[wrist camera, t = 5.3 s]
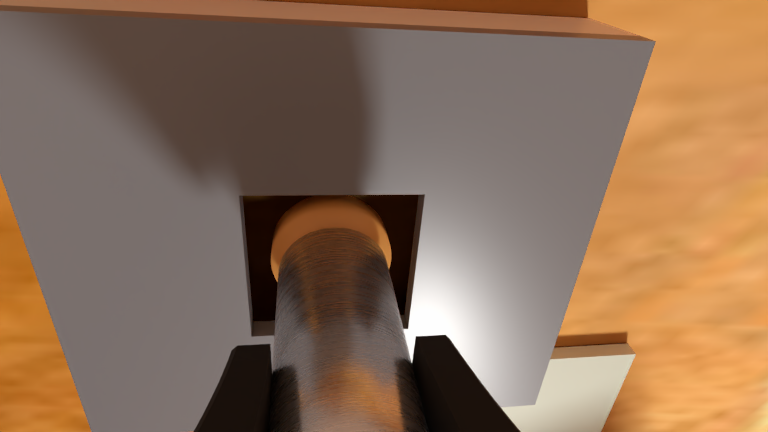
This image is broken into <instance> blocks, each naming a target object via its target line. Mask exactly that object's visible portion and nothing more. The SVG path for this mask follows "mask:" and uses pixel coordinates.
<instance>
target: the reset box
mask: <svg viewBox="0 0 768 432" xmlns="http://www.w3.org/2000/svg"><path fill="white" fill-rule="evenodd" d="M655 42H656V41H653V40H650V39H647V38H644V37H641V36H639V35H636V34H633V33H630V32H627V31H624V30H621V29H618V28H616V27H613V26H610V25H607V24H604V23H601V22H598V21H595V20H593V19H590V18H576V17H557V16H539V15H520V14H502V13H483V12H464V11H446V10H427V9H408V8H390V7H371V6H352V5H334V4H315V3H296V2H278V1H259V0H0V174H1V177H2V180H3V183H4V186H5V188H6V191H7V194H8V197H9V200H10V203H11V205H12V208H13V211H14V214H15V217H16V219H17V222H18V225H19V228H20V231H21V234H22V236H23V239H24V242H25V245H26V248H27V251H28V253H29V256H30V259H31V262H32V265H33V267H34V270H35V273H36V276H37V279H38V282H39V284H40V287H41V290H42V293H43V296H44V298H45V301H46V304H47V307H48V310H49V313H50V315H51V318H52V321H53V324H54V327H55V330H56V332H57V335H58V338H59V341H60V344H61V346H62V349H63V352H64V355H65V358H66V361H67V363H68V366H69V369H70V372H71V375H72V378H73V380H74V383H75V386H76V389H77V392H78V394H79V397H80V400H81V403H82V406H83V409H84V411H85V414H86V417H87V420H88V423H89V425H90V428H91V431H92V432H189V431H194V430H195V428H196V426H197V424H198V423H199V421H200V419H201V417H202V415H203V413H204V411H205V409H206V407H207V405H208V403H209V401H210V399H211V397H212V395H213V393H214V391H215V389H216V387H217V385H218V383H219V380H220V378H221V376H222V374H223V371H224V369H225V366H226V364H227V361H228V359H229V356H230V353H231V350H233V349H234V348H235V347H236V346H237V345H257V344H270V346H271V362H272V363H273V347H274V332H275V321H255V322H253V313H252V302H251V290H250V278H249V266H248V254H247V242H246V231H245V219H244V207H243V196H264V195H419V196H418V204H417V213H416V221H415V230H414V238H413V247H412V255H411V264H410V272H409V280H408V289H407V297H406V306H405V314H404V315H400V317H401V321H402V325H403V329H404V334H405V338H406V342H407V346H408V350H409V354H410V358H411V362H412V360H413V353H414V345H415V338H416V336H432V335H446V336H447V337H448V338H449V339H450V340H451V341H452V343H453V344H454V346H455V347H456V348H457V350H458V351H459V353H460V354H461V355H462V357H463V358H464V360H465V361H466V362H467V364H468V365H469V367H470V368H471V369H472V371H473V372H474V373H475V375H476V376H477V377H478V379H479V380H480V381H481V383H482V384H483V385H484V387H485V388H486V389H487V391H488V392H489V393H490V394H491V396H492V397H493V398H494V400H495V401H496V402H497V403H498V405H499V406H500V407H513V406H526V405H535V403H536V400H537V397H538V394H539V391H540V388H541V385H542V382H543V379H544V376H545V373H546V370H547V367H548V364H549V361H550V358H551V355H552V352H553V349H554V346H555V343H556V340H557V337H558V334H559V331H560V328H561V325H562V322H563V319H564V316H565V313H566V310H567V307H568V304H569V301H570V298H571V295H572V292H573V289H574V286H575V283H576V280H577V277H578V274H579V271H580V268H581V265H582V262H583V259H584V256H585V253H586V250H587V247H588V244H589V241H590V238H591V234H592V231H593V228H594V225H595V222H596V219H597V216H598V213H599V210H600V207H601V204H602V201H603V198H604V195H605V192H606V189H607V186H608V183H609V180H610V177H611V174H612V171H613V168H614V165H615V162H616V159H617V156H618V153H619V150H620V147H621V144H622V141H623V138H624V135H625V132H626V129H627V126H628V123H629V120H630V117H631V114H632V111H633V108H634V105H635V102H636V99H637V96H638V93H639V90H640V87H641V84H642V81H643V78H644V75H645V72H646V69H647V66H648V63H649V60H650V57H651V54H652V51H653V48H654V45H655Z"/></svg>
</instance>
